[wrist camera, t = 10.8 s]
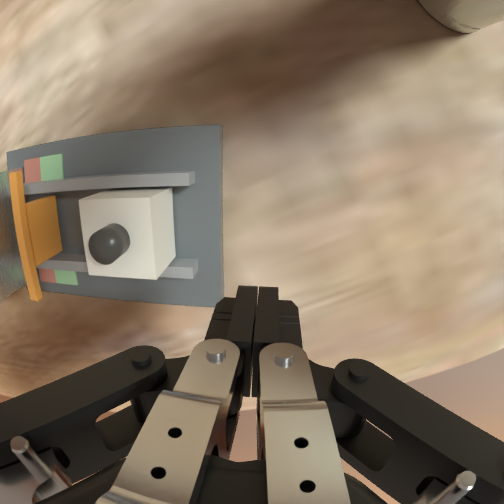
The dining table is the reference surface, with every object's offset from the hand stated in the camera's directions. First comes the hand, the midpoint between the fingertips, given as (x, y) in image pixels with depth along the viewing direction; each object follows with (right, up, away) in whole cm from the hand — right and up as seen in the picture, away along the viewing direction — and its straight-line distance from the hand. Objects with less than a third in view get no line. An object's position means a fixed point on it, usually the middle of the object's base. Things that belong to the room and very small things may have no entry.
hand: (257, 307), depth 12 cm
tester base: (-15, +5, +16) cm, 22 cm away
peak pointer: (-20, +5, +14) cm, 25 cm away
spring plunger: (-10, +5, +14) cm, 18 cm away
